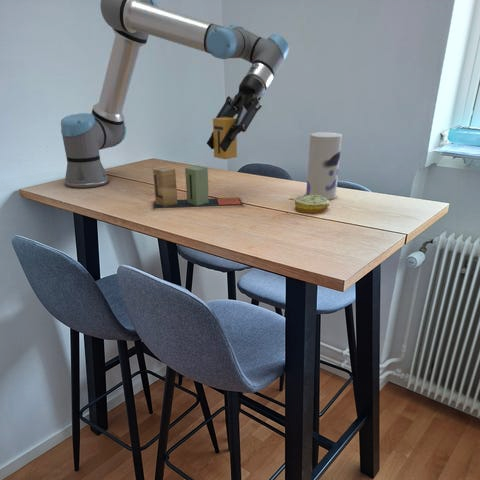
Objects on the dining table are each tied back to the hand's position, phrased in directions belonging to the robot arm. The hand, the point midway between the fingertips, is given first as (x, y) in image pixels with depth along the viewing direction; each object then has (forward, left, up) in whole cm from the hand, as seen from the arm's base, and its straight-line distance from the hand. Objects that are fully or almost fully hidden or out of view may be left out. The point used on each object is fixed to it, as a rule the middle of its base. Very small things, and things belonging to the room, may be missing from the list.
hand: (216, 147), depth 140 cm
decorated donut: (+23, +19, -18) cm, 35 cm away
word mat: (-6, -3, -18) cm, 19 cm away
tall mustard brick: (0, +4, -3) cm, 5 cm away
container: (+16, +33, -18) cm, 41 cm away
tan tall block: (-12, -11, -17) cm, 24 cm away
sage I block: (-6, -3, -17) cm, 19 cm away
